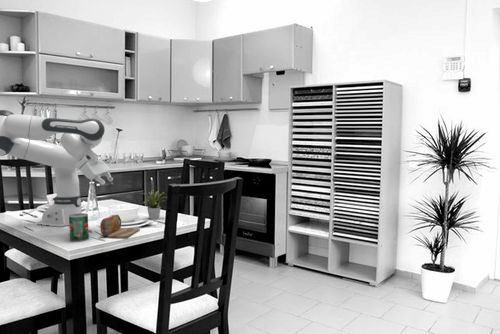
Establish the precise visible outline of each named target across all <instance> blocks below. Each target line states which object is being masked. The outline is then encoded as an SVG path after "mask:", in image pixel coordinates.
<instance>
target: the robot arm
mask: <svg viewBox="0 0 500 334" xmlns="http://www.w3.org/2000/svg"><path fill="white" fill-rule="evenodd" d="M56 134H62V136H61V137H60V140H59V141H60V145H59V144H55V143H51V142H48V141H46V140H48V139H50V138H51V137H52V136H53V135H56ZM104 134H105V126H104V124H103V122H101V121H100V120H99V119H97V118H86V119H80V120H78V119H69V118H67V119H65V118H55V117H43V116H39V115H38V116H37V115H31V114H21V113H20V114H18V113H16V114H15V113H13V112H12V111H10V110H7V109H0V157H5V156H6V155H8V156H9V155H10V156H12V157H15V158H18V159H21V160H26V161H29V162H33V163H37V164H40V165H41V164H42V165H46V166H49V167H53V171H54V178H55V186H56V188H55V189H56V191H55V192H56V196H54V197H52V198H51V201H53V203H52V205H50V206H49V207H48V208H46V209H45V210H44V211H43V213H42V218H41V220H39V221H38V222H37V224H42V225H41V226H46V225H49V227H59V228H60V227H67V226H69V215H72V214H78V213H82V207H81V205H82V200H81V199H82V198H81V197H82V196H81V193H80V179H79V175H78V170H79V171H80V172H81V174H82V175H83V176H84V177H86V178H87V179H88V180H90V181H91V180H95V181H96V182H98V183H99V184H100V185H102V186H103V185H105V184H106V180H105V179H103V178H101V177H103V176H104V177H106V179H107V181H108V182H109V183H110V182H112V181H113V180H114V177H112V176H111V173H110V172H111V167H110V166H109V165H108V164H107V163H105V162H104V161H103V160H102V159H99V157H98V155H97V154H96V152H94V151H93V150H92V149H94V148H96V147H97V146H99V145H100V144H101V142H102V139H103V136H104Z"/></svg>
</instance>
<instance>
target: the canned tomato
mask: <svg viewBox="0 0 500 334" xmlns="http://www.w3.org/2000/svg"><path fill="white" fill-rule="evenodd" d="M68 226H69V228H68V229H69V241H70V242H75V243H78V242H84V241H85V242H86V241H88V240H89V239H90V238H89V236H90V235H89V233H90V231H89V215H88V213H78V214H72V215H69V225H68Z"/></svg>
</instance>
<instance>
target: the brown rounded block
mask: <svg viewBox="0 0 500 334" xmlns="http://www.w3.org/2000/svg"><path fill="white" fill-rule="evenodd" d="M121 227H122V220H121V217H120V215H118V214H112V215H111V214H110V216H107V217H105V218H103V219H102V220H101V221H100V227H99V229H100V233H101V235H102V236H104V237H108V236H109V235H110V234H112V233H114V232H116V231H118V230H119V229H121Z"/></svg>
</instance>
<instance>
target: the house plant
mask: <svg viewBox="0 0 500 334" xmlns="http://www.w3.org/2000/svg"><path fill="white" fill-rule="evenodd" d="M159 191H160V190H156V191H155V192H154V188H153V189H152V194H151V192H148V194H149V195H148V194H147V190H146V191H145V192H143V193H142V192H141V194H143V195H144V196H145V197H146V199H145V201H143V202H142V203H143V205H145V204H148V205H149V206H147V207H146V209H147V214H148V218H150V219H149V220H158V219H160V215H161V214H160V213H161V206H159V204H160V203H161V201H162V200H163V199H166V198H168V197H167V196H163V197H161V196H162V194H165V192H162V194H158V193H159Z"/></svg>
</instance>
